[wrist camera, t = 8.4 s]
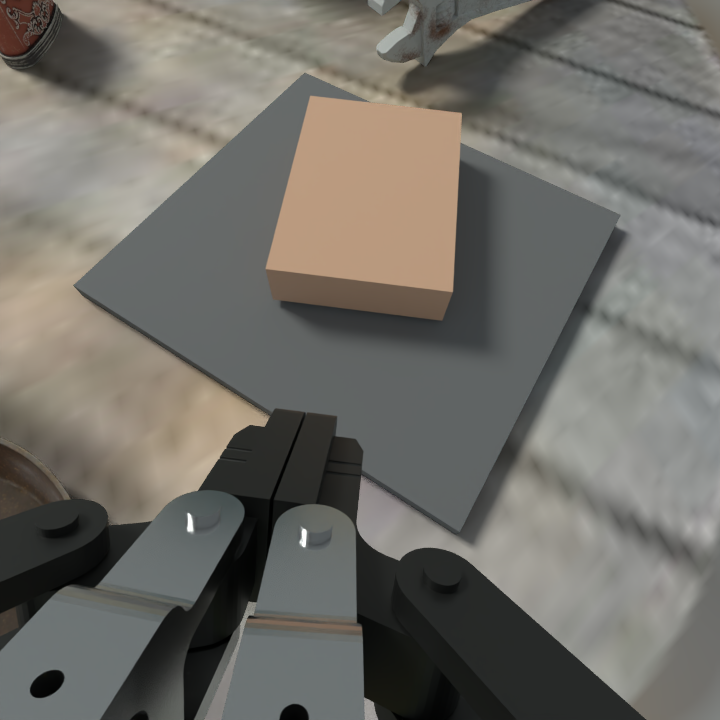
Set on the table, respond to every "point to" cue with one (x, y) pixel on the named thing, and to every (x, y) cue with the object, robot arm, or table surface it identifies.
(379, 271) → the tan rectangular block
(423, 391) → the mat
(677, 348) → the table surface
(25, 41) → the lighter
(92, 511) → the robot arm
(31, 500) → the plant saucer
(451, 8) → the wrench
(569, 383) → the table surface
